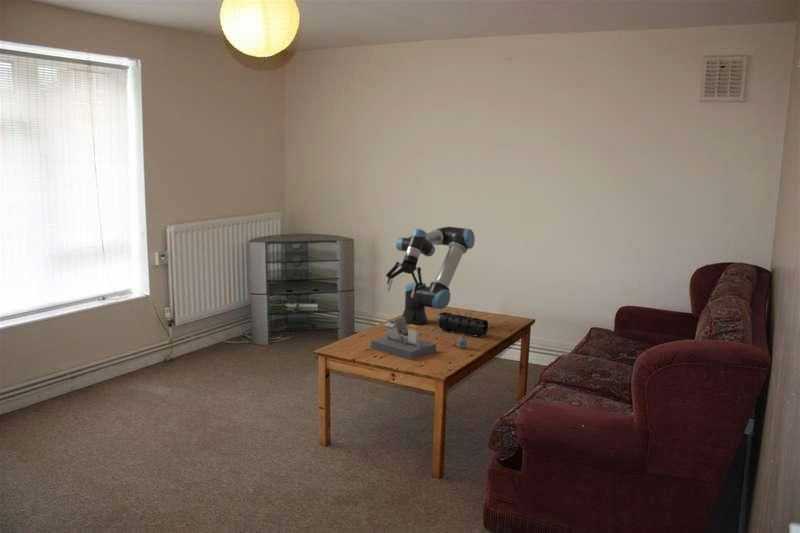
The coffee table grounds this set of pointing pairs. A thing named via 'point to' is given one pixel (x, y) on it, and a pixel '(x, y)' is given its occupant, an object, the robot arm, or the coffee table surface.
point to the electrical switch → (400, 325)
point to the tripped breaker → (413, 334)
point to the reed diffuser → (462, 340)
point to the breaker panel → (403, 347)
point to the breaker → (392, 331)
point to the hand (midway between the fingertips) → (399, 293)
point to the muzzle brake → (462, 324)
